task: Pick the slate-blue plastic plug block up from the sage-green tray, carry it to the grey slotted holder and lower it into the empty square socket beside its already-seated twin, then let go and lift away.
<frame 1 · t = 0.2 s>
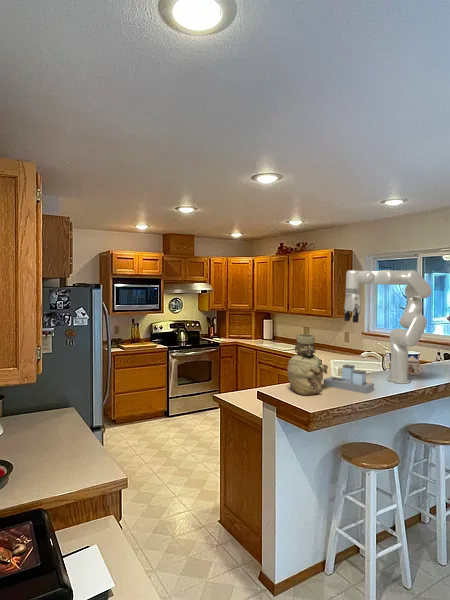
hand: (351, 321, 228), 36 cm above the worktop, tool pointing down, fingers open, 9 cm apart
twin plug: (359, 389, 211), point 1 cm above the worktop, touching grey slotted holder
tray: (348, 384, 229), on the worktop
ceramic vessel: (305, 391, 212), on the worktop
grey slotted holder: (348, 390, 215), on the worktop
plug: (348, 382, 229), point 1 cm above the worktop, touching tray
teacup with lid: (413, 374, 258), on the worktop
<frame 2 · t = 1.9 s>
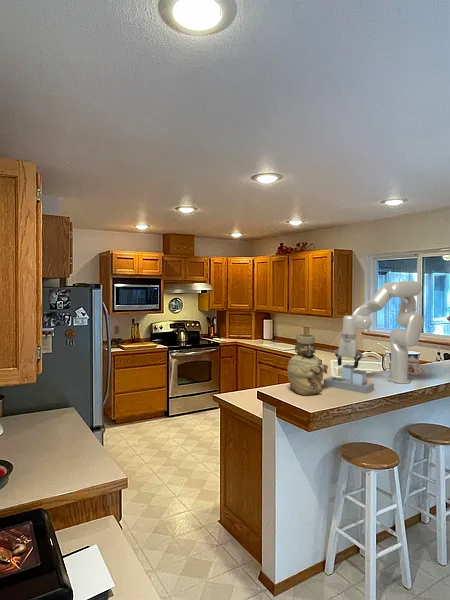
hand: (347, 366, 228), 10 cm above the worktop, tool pointing down, fingers open, 9 cm apart
nothing on the worktop moved.
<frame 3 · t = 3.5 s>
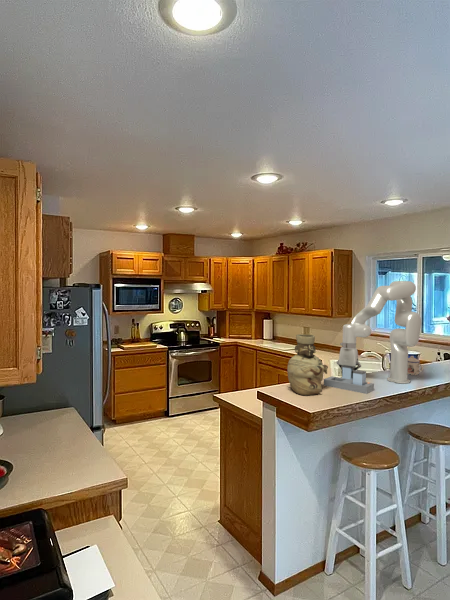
hand: (348, 376, 229), 4 cm above the worktop, tool pointing down, fingers closed on plug, 5 cm apart
plug: (348, 382, 229), point 1 cm above the worktop, touching gripper, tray
everything else where it was.
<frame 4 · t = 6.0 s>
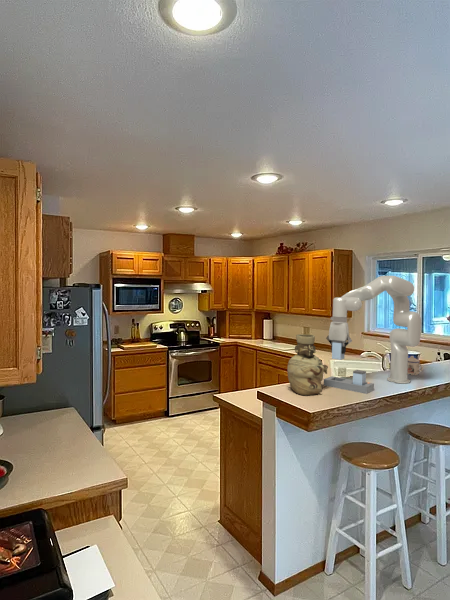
hand: (338, 352, 218), 20 cm above the worktop, tool pointing down, fingers closed on plug, 5 cm apart
plug: (338, 358, 218), point 17 cm above the worktop, touching gripper
everything else where it was.
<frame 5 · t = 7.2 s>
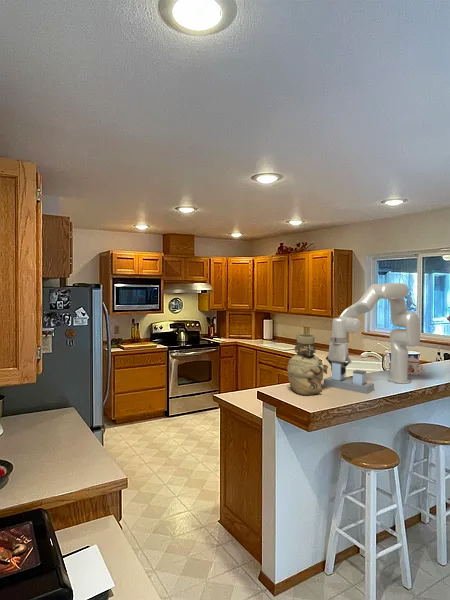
hand: (338, 373, 218), 9 cm above the worktop, tool pointing down, fingers closed on plug, 5 cm apart
plug: (337, 379, 218), point 5 cm above the worktop, touching gripper
everything else where it was.
when the fingers open (6 cm above the worktop, at t = 8.4 s): plug drops 1 cm, resting on grey slotted holder.
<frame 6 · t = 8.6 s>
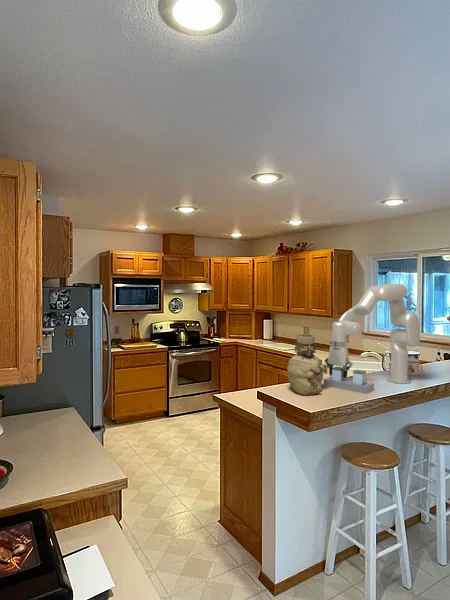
hand: (338, 376, 218), 7 cm above the worktop, tool pointing down, fingers open, 7 cm apart
plug: (338, 385, 219), point 1 cm above the worktop, touching grey slotted holder
everything else where it was.
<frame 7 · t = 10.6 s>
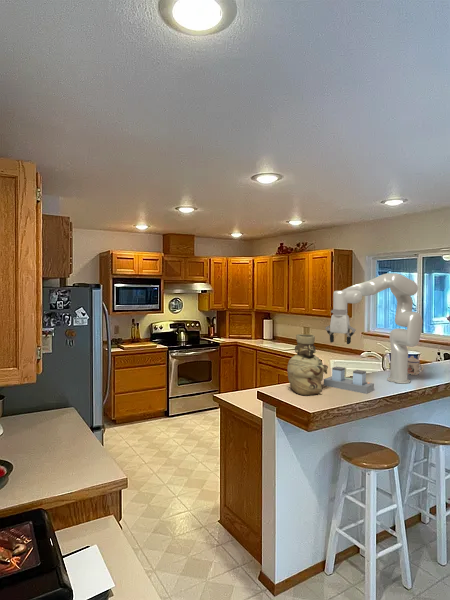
hand: (340, 343, 222), 25 cm above the worktop, tool pointing down, fingers open, 9 cm apart
nothing on the worktop moved.
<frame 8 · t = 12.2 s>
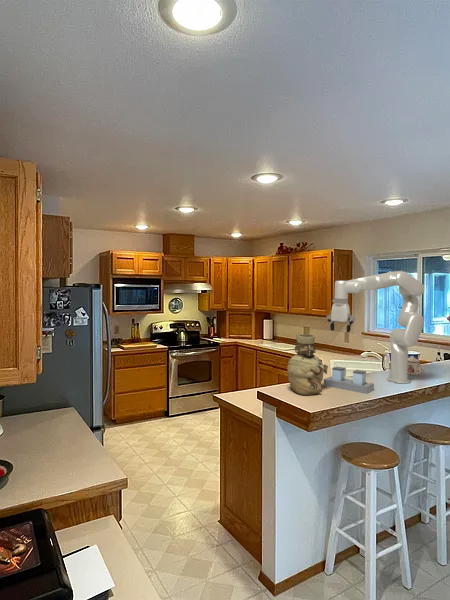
hand: (340, 331, 230), 30 cm above the worktop, tool pointing down, fingers open, 9 cm apart
nothing on the worktop moved.
at the end: plug 0.1 cm from the target spot on the grey slotted holder, point 1.5 cm above the grey slotted holder's base; plug tilted 0°; the gripper is holding nothing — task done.
